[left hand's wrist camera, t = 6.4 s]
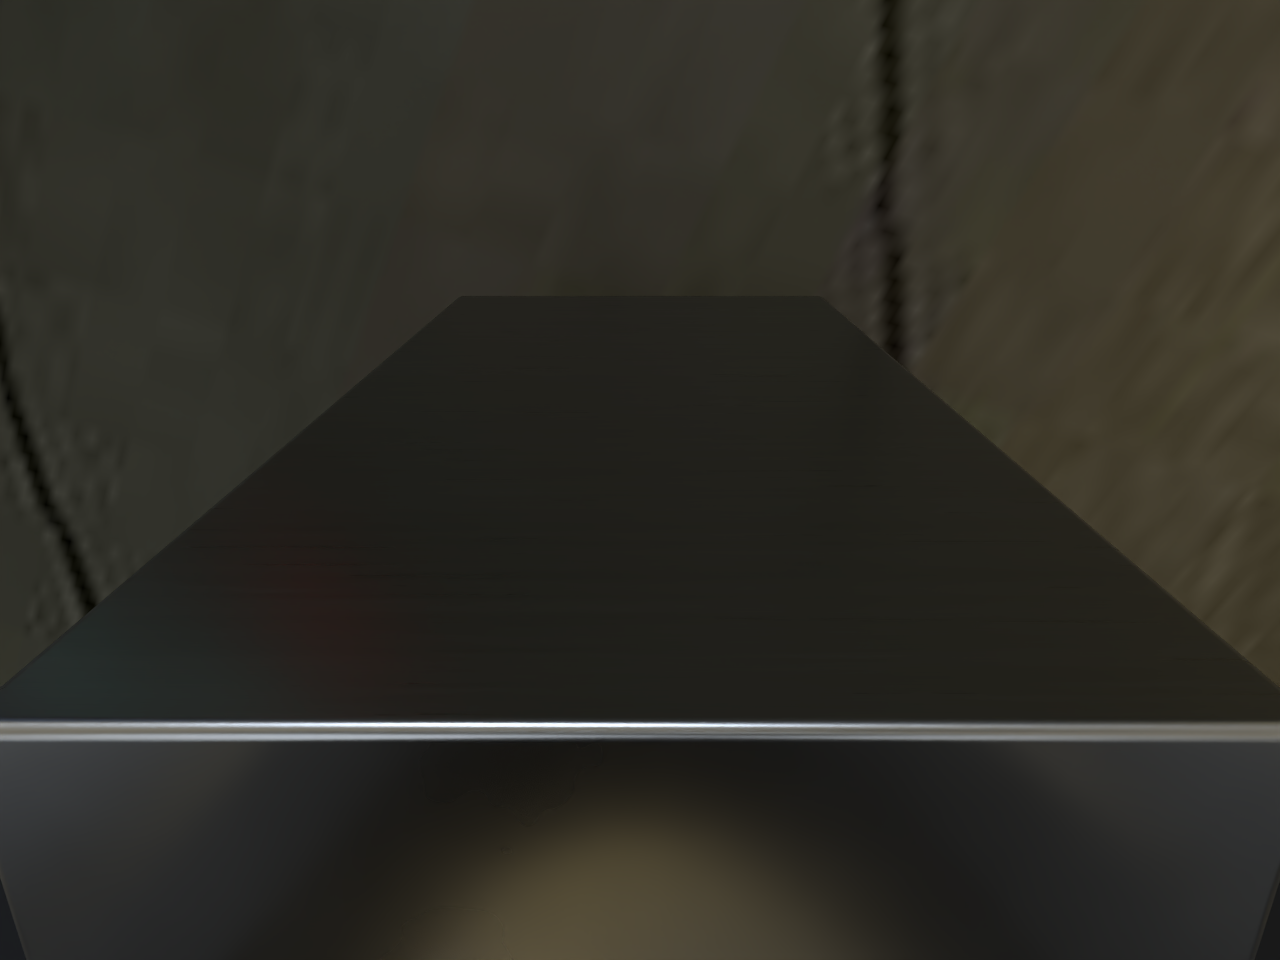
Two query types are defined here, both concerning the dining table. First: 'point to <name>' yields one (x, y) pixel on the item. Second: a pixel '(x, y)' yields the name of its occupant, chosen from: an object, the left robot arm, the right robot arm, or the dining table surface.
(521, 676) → the box
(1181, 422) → the dining table surface
